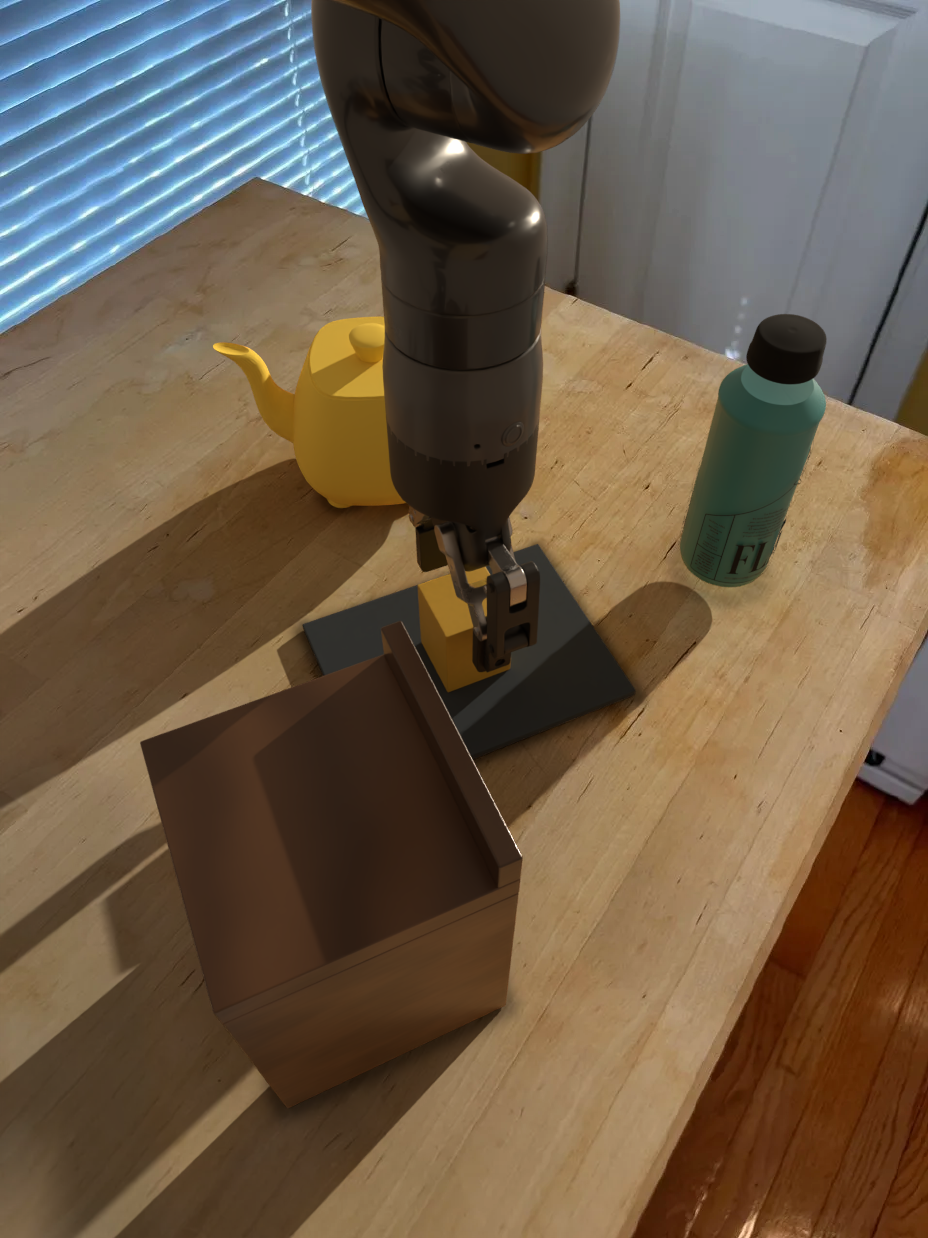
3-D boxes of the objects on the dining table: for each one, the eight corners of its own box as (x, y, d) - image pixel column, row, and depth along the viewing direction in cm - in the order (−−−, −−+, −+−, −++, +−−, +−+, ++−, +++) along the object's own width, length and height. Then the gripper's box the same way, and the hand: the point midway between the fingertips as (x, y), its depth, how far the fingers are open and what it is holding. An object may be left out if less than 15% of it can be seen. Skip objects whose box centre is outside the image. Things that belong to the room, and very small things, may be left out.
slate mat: (375, 798, 57) (375, 793, 56) (303, 629, 64) (301, 623, 64) (635, 695, 61) (636, 690, 61) (537, 548, 69) (538, 543, 68)
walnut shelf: (287, 1109, 46) (200, 997, 31) (222, 893, 53) (125, 716, 38) (506, 1005, 49) (523, 857, 34) (419, 813, 56) (401, 619, 41)
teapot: (251, 417, 78) (219, 283, 68) (491, 406, 79) (494, 272, 69) (238, 536, 70) (200, 404, 60) (506, 522, 70) (513, 389, 61)
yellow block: (447, 693, 60) (446, 637, 56) (420, 641, 63) (417, 584, 58) (510, 669, 62) (514, 613, 57) (481, 619, 64) (482, 561, 59)
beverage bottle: (714, 617, 65) (793, 383, 49) (653, 556, 68) (709, 319, 52) (783, 579, 67) (881, 342, 51) (721, 522, 70) (794, 283, 55)
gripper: (340, 341, 48) (365, 553, 61) (450, 524, 40) (453, 723, 53) (472, 307, 50) (470, 519, 63) (603, 475, 42) (570, 679, 55)
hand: (462, 612), depth 58 cm, fingers open, 8 cm apart
